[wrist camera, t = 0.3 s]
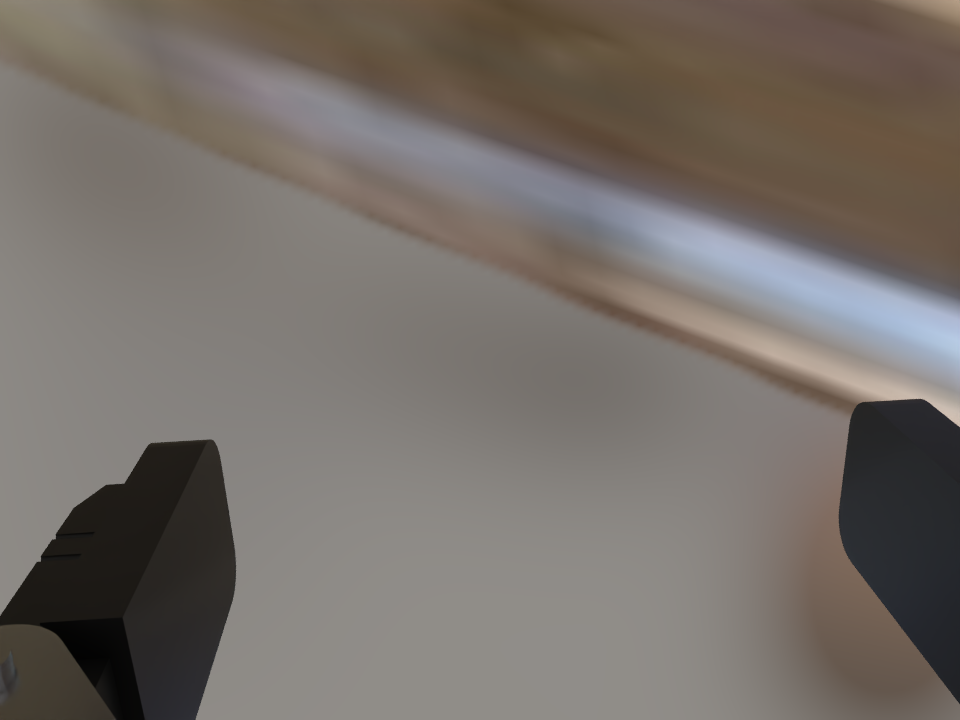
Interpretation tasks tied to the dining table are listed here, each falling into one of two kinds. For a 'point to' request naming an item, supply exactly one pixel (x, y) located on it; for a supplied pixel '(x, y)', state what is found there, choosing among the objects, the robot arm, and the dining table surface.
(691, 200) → the dining table surface
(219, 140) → the dining table surface
